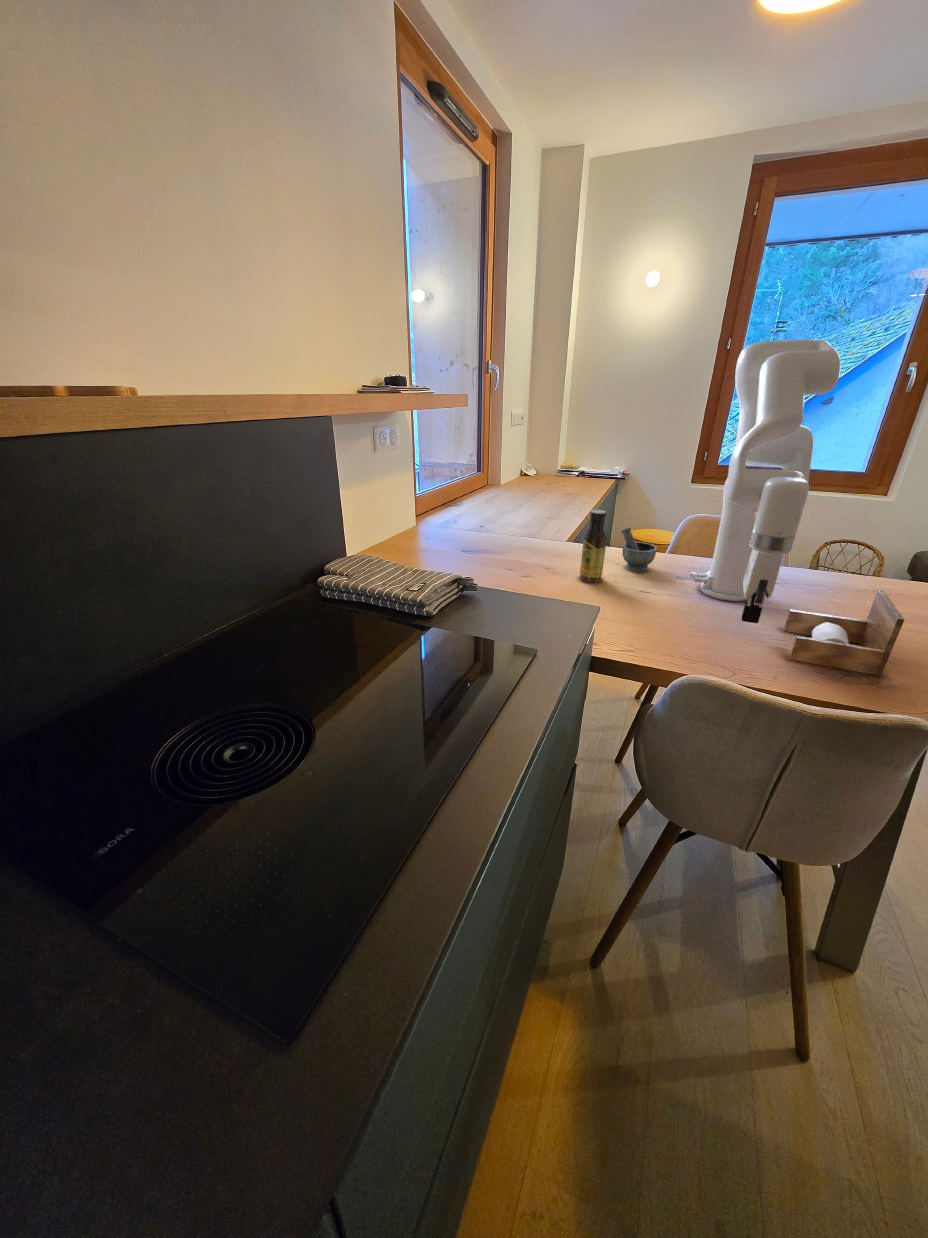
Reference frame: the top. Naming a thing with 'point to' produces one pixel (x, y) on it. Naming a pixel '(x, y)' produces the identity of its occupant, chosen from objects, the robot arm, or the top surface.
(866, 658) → the u-shaped wooden enclosure
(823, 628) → the roll
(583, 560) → the sauce bottle
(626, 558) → the mortar and pestle
